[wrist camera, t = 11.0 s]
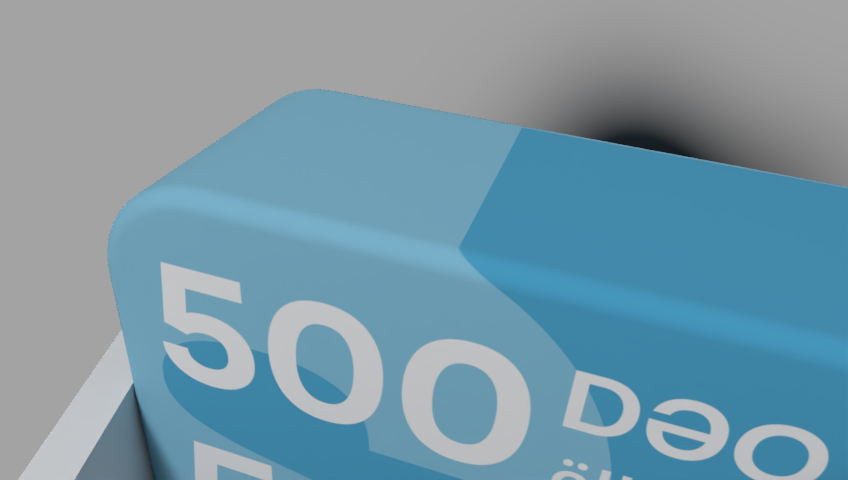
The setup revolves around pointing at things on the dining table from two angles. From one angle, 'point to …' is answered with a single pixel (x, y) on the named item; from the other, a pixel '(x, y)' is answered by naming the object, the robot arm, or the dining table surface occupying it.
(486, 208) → the data package
